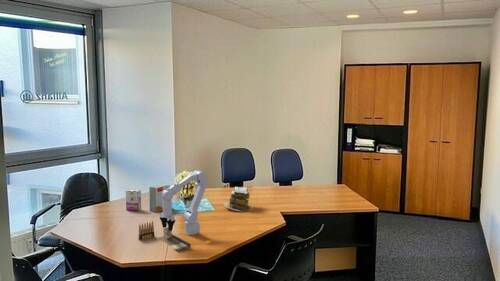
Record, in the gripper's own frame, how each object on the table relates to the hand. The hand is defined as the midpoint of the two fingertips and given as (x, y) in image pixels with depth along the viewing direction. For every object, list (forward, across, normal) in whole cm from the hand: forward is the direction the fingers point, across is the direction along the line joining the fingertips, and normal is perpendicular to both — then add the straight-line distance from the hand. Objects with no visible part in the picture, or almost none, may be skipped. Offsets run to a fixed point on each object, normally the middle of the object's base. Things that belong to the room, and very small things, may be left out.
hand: (167, 229), depth 269 cm
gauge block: (+6, 0, 0) cm, 6 cm away
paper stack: (+7, -28, +81) cm, 86 cm away
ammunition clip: (+8, -8, -11) cm, 16 cm away
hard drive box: (+8, -65, +29) cm, 72 cm away
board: (+7, +9, -1) cm, 12 cm away
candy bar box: (+8, -77, +12) cm, 78 cm away
